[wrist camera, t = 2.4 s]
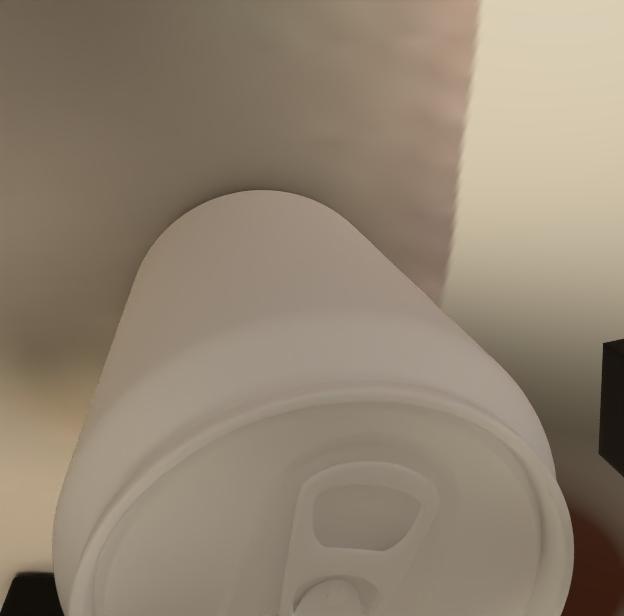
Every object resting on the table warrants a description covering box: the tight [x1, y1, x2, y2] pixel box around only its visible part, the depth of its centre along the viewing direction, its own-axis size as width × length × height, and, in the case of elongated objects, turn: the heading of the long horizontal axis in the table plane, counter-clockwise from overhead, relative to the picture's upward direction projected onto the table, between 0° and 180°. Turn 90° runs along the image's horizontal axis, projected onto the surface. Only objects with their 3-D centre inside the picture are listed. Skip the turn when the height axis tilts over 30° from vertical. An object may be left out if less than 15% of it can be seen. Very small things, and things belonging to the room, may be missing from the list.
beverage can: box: [52, 190, 574, 616], centre depth 14 cm, size 8×8×12 cm
